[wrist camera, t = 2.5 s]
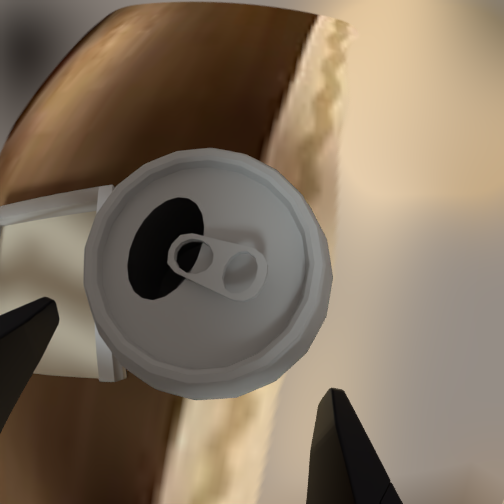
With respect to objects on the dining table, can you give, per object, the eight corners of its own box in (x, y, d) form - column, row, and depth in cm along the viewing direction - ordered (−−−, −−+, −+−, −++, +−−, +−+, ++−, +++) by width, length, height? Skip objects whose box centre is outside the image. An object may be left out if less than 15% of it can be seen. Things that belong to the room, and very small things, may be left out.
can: (190, 228, 20) (140, 100, 8) (300, 271, 20) (380, 181, 8) (142, 336, 18) (22, 328, 6) (256, 384, 18) (288, 457, 6)
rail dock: (126, 377, 17) (114, 381, 15) (-6, 367, 16) (-23, 367, 14) (122, 198, 20) (112, 184, 18) (-1, 219, 20) (-15, 209, 17)
